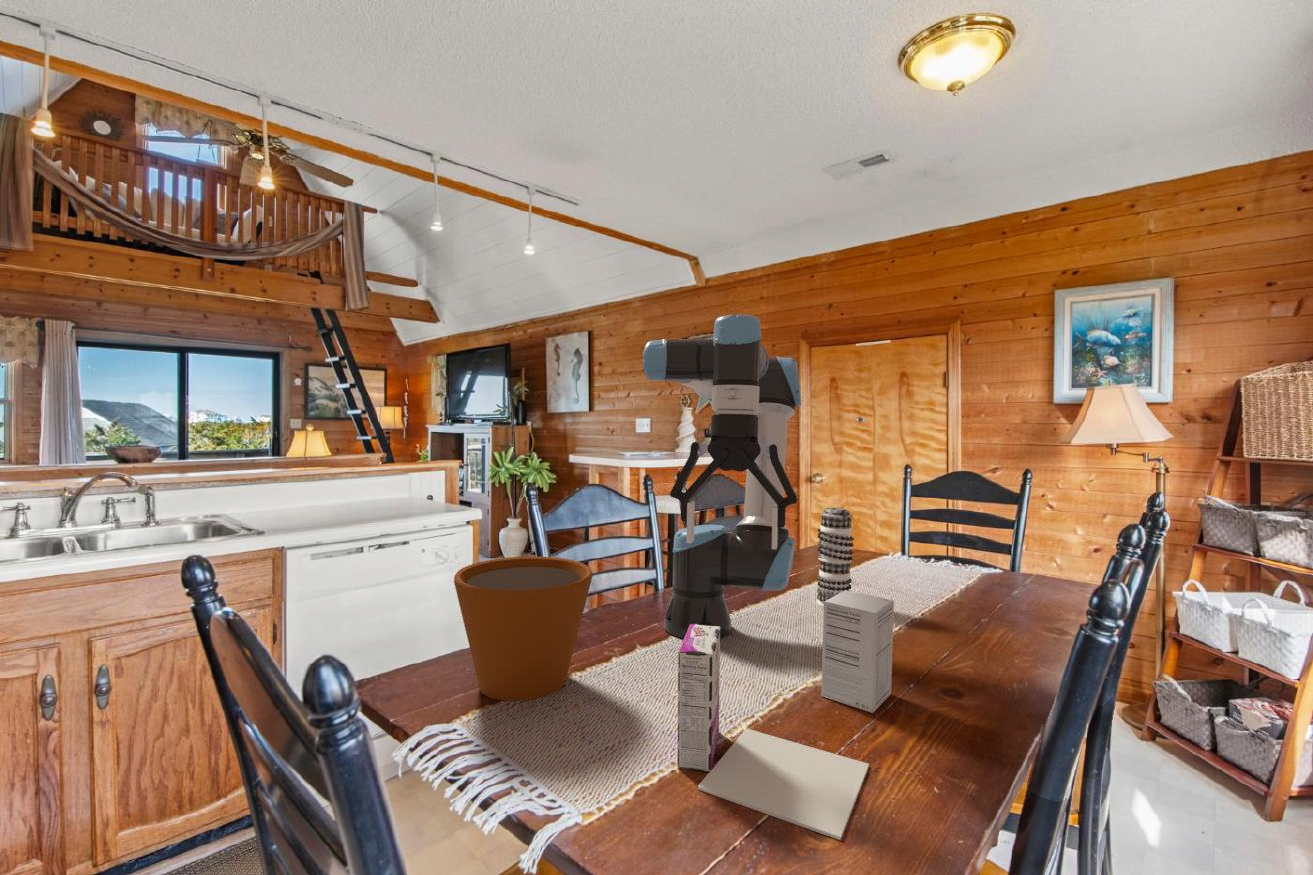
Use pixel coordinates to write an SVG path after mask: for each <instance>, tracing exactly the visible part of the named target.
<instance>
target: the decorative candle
mask: <svg viewBox="0 0 1313 875" xmlns="http://www.w3.org/2000/svg"><path fill="white" fill-rule="evenodd" d="M850 513H851V512H850V510H848V509H846V508H843V507H842V508H841V507H828V508H825V509H824V510H823V512H821V513H820V515H821V521H820V522H821V523H820V528H817V532H818V533H817V535H816V536H817V539H819V540H818V541H817V545H818V547H817V551H818V552H819V554H818V555H817V557H818V560H819V571H818V576H817V580H818V581H817V586H818V588H817V590H816V592H817V593H816V594H817V595H816V598H817V602H816V603H817V604H819V605H818V606H820V607H822V606H823V608H824V602H825V601H827V600H828V599H830V598H832V597H834V596H836V595H837V594H839V593H841V592H843V591H844V590H845V591H850V589H852V584H851V583H852V578H851V570H850V569H851V563H852V562H853V556H852V555H853V554H854V552H853V550H852V549H851V548H852V547H854V546H855V544H854V543H853V541H854V540H855V538H854V536H852V535H851V534H852V533H853V531H852V529H853V528H852V517H854V516H853V514H850Z"/></svg>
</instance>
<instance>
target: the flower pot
mask: <svg viewBox="0 0 1313 875" xmlns="http://www.w3.org/2000/svg"><path fill="white" fill-rule="evenodd" d="M592 579H593V570H592V569H591V567H589V566H588V565H587V564H585V563H584V562H580V561H578V560H577V561H576V560H573V559H568V558H562V557H554V556H553V557H552V556H513V557H510V556H509V557H503V558H501V557H500V558H493V559H488V560H483V561H479V562H475V563H472V564H469V565H466V566H464V567H461V568H460V569H459V570H458V571H457V572H456V573H455V574H454V576H453V584H454V588H455V592H456V596H457V600H458V604H459V608H460V613H461V617H462V621H463V624H464V628H465V632H466V633H465V634H466V638H467V641H468V646H469V650H470V654H471V659H472V663H473V667H474V672H475V675H476V679H477V685H478V687H479V691H480V692H481V694H482V695H484V696H486V697H487V698H491V699H494V700H499V701H504V702H505V701H507V702H516V701H517V702H518V701H528V700H535V699H539V698H543V697H546V696H549V695H552V694H555V693H556V692H557V691H560V690H561V689H562V688H563V687H564V686H565V685H566V681H567V677H568V674H569V669H570V665H571V662H572V657H573V654H574V650H575V647H576V641H577V639H578V634H579V629H580V626H581V623H582V618H583V614H584V612H585V607H586V602H587V600H588V599H587V598H588V595H589V591H590V587H591V583H592Z"/></svg>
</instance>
